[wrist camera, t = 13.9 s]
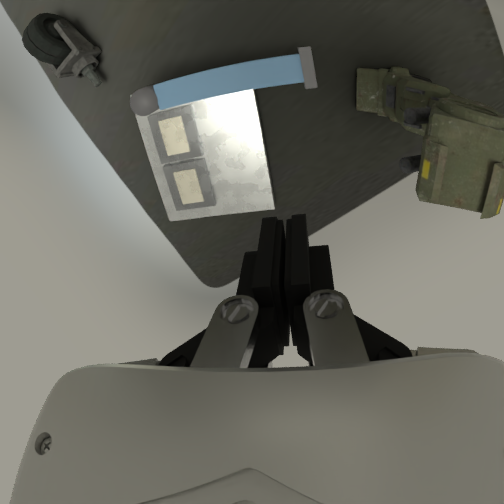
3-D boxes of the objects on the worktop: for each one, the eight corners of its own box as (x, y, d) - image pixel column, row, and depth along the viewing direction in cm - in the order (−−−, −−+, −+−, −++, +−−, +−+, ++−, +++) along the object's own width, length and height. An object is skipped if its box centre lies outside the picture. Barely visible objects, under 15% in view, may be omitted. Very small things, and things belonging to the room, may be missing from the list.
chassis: (135, 91, 38) (120, 97, 34) (249, 63, 35) (245, 65, 31) (174, 214, 49) (164, 230, 46) (275, 202, 46) (273, 218, 43)
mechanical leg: (456, 77, 30) (582, 140, 8) (451, 126, 35) (545, 255, 12) (357, 61, 35) (332, 77, 12) (356, 111, 39) (328, 215, 16)
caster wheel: (52, 33, 32) (95, 96, 38) (7, 35, 24) (51, 107, 30) (74, 6, 30) (120, 70, 35) (29, 3, 22) (77, 75, 27)
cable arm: (149, 115, 35) (135, 124, 32) (140, 83, 32) (125, 88, 29) (314, 83, 31) (317, 88, 28) (308, 46, 29) (310, 46, 25)
